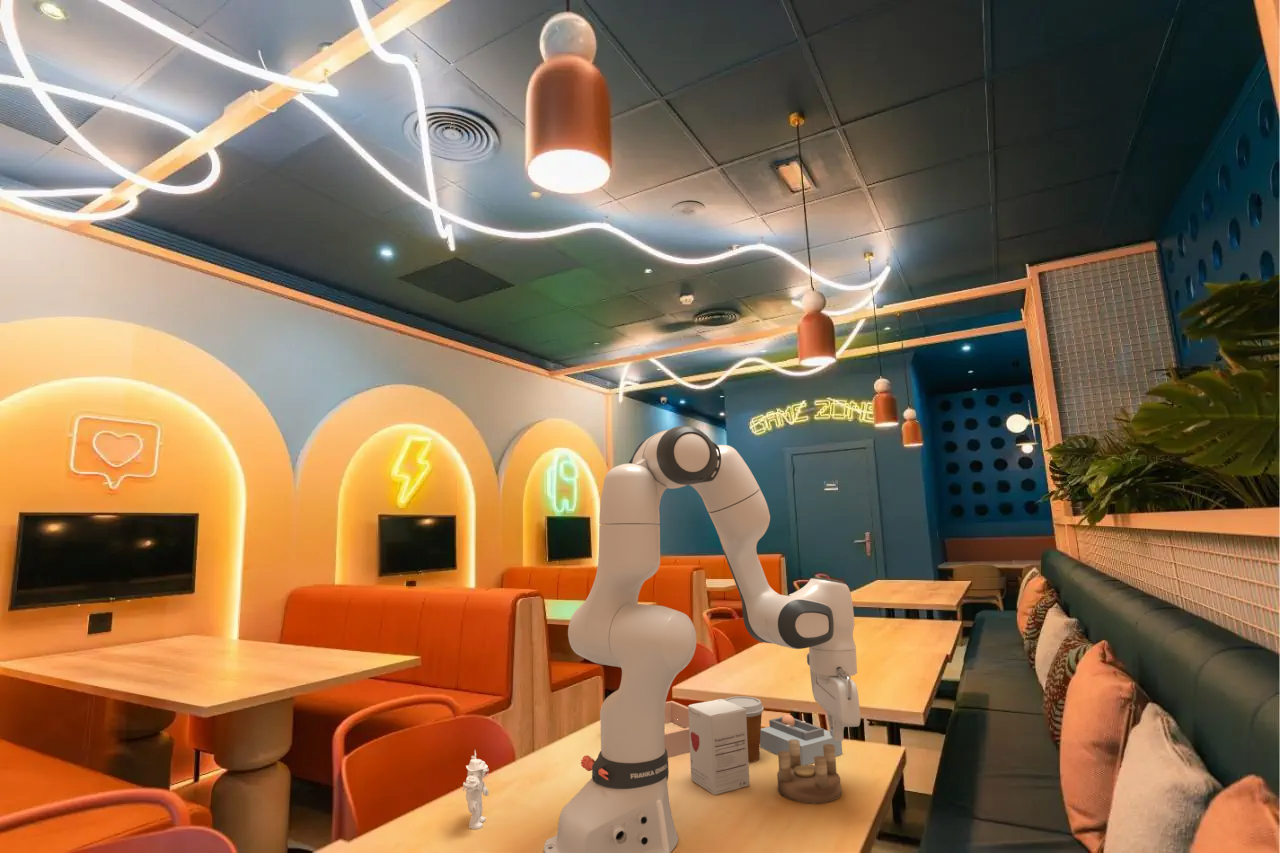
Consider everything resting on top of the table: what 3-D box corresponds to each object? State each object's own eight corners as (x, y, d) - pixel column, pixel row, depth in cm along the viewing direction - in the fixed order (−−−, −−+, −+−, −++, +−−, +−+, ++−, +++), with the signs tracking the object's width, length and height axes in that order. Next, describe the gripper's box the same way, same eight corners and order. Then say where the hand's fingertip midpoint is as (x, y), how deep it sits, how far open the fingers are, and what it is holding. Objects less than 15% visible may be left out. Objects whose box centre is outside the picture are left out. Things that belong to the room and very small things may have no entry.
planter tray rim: (647, 762, 143) (646, 738, 144) (603, 735, 162) (602, 714, 163) (723, 743, 154) (722, 721, 154) (673, 720, 172) (672, 700, 173)
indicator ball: (788, 731, 149) (787, 717, 149) (779, 727, 151) (778, 714, 152) (797, 728, 150) (797, 715, 151) (789, 725, 153) (788, 712, 153)
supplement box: (689, 780, 133) (686, 704, 135) (725, 771, 137) (721, 697, 139) (714, 796, 125) (710, 715, 127) (751, 786, 129) (747, 707, 131)
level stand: (802, 766, 138) (801, 738, 139) (760, 747, 150) (758, 721, 151) (842, 754, 144) (840, 727, 145) (798, 737, 156) (796, 712, 157)
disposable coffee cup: (766, 766, 139) (762, 708, 140) (722, 764, 140) (719, 707, 142) (766, 750, 148) (763, 696, 150) (725, 749, 150) (722, 695, 151)
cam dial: (854, 797, 122) (851, 755, 123) (797, 807, 118) (794, 764, 119) (820, 774, 133) (817, 735, 134) (766, 782, 130) (764, 743, 131)
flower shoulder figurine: (472, 813, 121) (473, 745, 123) (493, 812, 121) (493, 745, 123) (458, 836, 112) (458, 763, 114) (480, 836, 112) (480, 762, 114)
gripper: (866, 673, 115) (871, 756, 112) (834, 653, 135) (838, 723, 133) (831, 673, 115) (835, 756, 113) (804, 653, 135) (807, 723, 133)
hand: (836, 738), depth 123 cm, fingers closed
